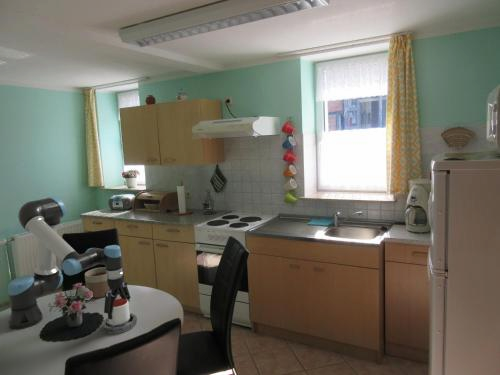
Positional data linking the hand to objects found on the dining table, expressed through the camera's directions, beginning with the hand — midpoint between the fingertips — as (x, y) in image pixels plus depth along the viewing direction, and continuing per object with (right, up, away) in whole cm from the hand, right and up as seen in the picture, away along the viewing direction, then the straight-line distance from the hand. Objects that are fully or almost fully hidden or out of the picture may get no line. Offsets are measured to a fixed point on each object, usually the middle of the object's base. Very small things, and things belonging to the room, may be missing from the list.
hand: (119, 319), depth 186 cm
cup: (0, -1, 0) cm, 2 cm away
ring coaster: (0, -3, 0) cm, 3 cm away
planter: (-26, +1, +42) cm, 49 cm away
